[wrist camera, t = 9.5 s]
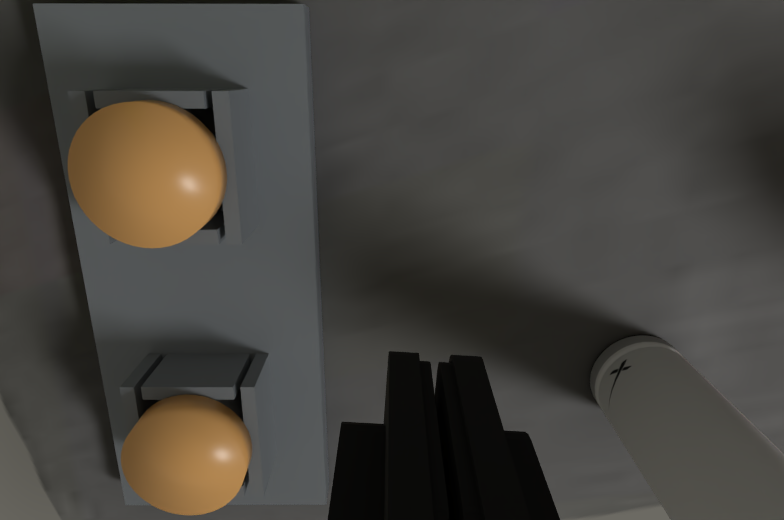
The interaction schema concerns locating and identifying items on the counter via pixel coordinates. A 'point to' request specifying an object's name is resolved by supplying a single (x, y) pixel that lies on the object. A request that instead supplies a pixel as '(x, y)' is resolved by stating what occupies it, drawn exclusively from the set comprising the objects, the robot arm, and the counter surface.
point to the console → (209, 228)
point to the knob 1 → (147, 172)
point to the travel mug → (687, 435)
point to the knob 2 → (188, 454)
